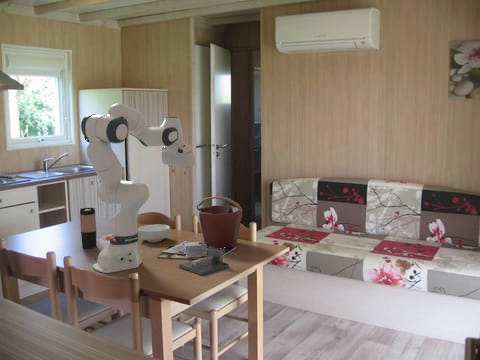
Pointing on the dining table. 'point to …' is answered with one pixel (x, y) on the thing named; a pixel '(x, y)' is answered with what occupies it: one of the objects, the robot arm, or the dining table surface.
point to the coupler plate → (204, 268)
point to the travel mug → (88, 228)
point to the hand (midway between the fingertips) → (180, 173)
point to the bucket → (220, 223)
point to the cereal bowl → (154, 232)
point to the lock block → (195, 249)
